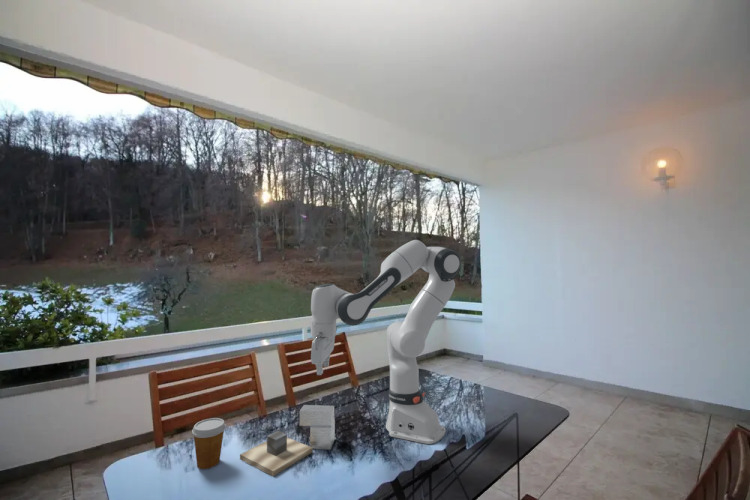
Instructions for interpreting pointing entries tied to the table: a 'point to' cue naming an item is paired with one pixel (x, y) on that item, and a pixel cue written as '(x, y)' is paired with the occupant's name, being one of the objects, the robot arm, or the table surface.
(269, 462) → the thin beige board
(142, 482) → the table surface
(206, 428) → the disposable coffee cup
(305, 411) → the grey stepped block
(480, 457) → the table surface
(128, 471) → the table surface
